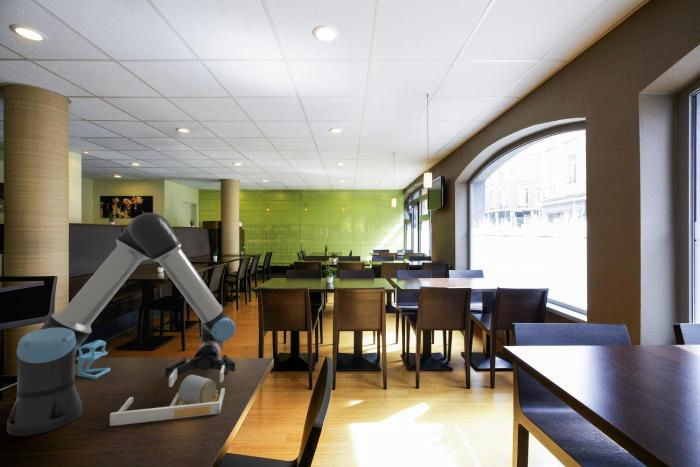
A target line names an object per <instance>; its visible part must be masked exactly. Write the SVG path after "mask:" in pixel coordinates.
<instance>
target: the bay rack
mask: <svg viewBox="0 0 700 467" xmlns="http://www.w3.org/2000/svg"><path fill="white" fill-rule="evenodd" d="M225 392H226V388H225V387H223V388H221V389H220V392H219V393H217V395H215V396H214V398H213V399H212V401H211V402H208V403H198V404H190V403H185V402H182V401H181V400H180V399H179V395H178V393H179V392H176V393H175V396H174V397H173V399H172V402H171V403H170V405H169V406H161V407H160V406H159V407H154V408H143V409H142V408H141V409H134V410H128V409H129V407H131V405H132V403H133V402H134V396H129V398H128V399H127V400H126V401H125V402H124V404H122V406H121V407H120V408H119V410H118V411H115V412H110V414H109V426H110V427H113V426H114V427H115V426H124V425H132V424H140V423H149V422H157V421H158V422H159V421H166V420H175V419H185V418H194V417H201V416H210V415H211V416H212V415H219V414H221V410H222V405H223V401H224V398H225Z"/></svg>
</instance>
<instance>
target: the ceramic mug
mask: <svg viewBox="0 0 700 467" xmlns="http://www.w3.org/2000/svg"><path fill="white" fill-rule="evenodd" d="M218 392H219V390H218V388H217V384H216V382H215V381H214V380H212V379H211V378H208V377H207V378H206V377H203V376H200V375H196V374H189V375H187V376H186V377H185V378H183V380H182V382H181V383H180V385H179V389H178V392H177V393H178V395H179V401H180V400H181V401H182V402H185V403H190V404H198V403H208V402H211V401H212V399H213V398H214V396H215V395H217V393H218Z"/></svg>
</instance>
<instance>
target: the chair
mask: <svg viewBox="0 0 700 467" xmlns="http://www.w3.org/2000/svg"><path fill="white" fill-rule="evenodd" d="M106 345H107V342H106V341H104V340H102V339H96V340H94V341H92V342H89V343H85V344H84V345H81V346H80V347H79V348H78V349H77V351H78V352H79V354H78V356H75V361H77V362H78V368H77V369H78V370H77V377H82V378H86V379H87V378H88V379H93V380H95V379H98V378H99V377H101V376H103V375H105V374H107V373H109V372H111V367H105V368H93V369H90V368H91V366H92V363H93V362H94V361H95V360H98V359H99V358H101V357H103V356H104V357H105V356H106V355H108V352H109V351H106V350H105V348H106ZM99 347H100V348H101V347H102V348H101V351H96V349H98V348H99ZM83 349H89V352H86V353H84V354H83V351H82V350H83ZM87 361H88V362H87ZM85 362H87V364H86V366H85V368H84V364H85ZM91 373H97V374H95V375H94V374H91Z"/></svg>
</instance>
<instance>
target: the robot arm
mask: <svg viewBox="0 0 700 467" xmlns="http://www.w3.org/2000/svg"><path fill="white" fill-rule="evenodd" d="M115 242H116V247H115V248H114V250H112V251H111V253H110V254H109V255H108V257H106V259H105V260H104V261H103V262H102V263H101V265H100V266H99V267H98V268H97V270H96V271H95V272H94V273H93V275H92V276H90V277H89V279H88V280H87V281H86V282H85V284H84V285H83V286H82V288H80V290H79V291H78V292H77V293H76V294H75V296H73V298H72V299H71V301H70V302H69V303H68V304H67V305H66V306H65V308H64V309H63V310H62V311H59V312H54V313H52V314H51V315H50V317H49V318H48V319H46V321H45V322H44V324H42V325H41V327H40V328H39V329H38V330H34V331H33V332H29V333H27V334H25V335H23V336H22V337H21V338H20V339H19V341H18V344H17V349H16V355H17V365H16V366H17V373H16V375H17V376H16V378H17V379H16V381H17V382H16V400H15V402H14V405H13V407H12V409H11V412H10V414H9V417H8V419H7V422H6V433H7V434H8V435H11V436H14V437H27V436H34V435H39V434H45V433H47V432H51V431H54V430H57V429H60V428H62V427H64V426H66V425H68V424H70V423H72V422H74V421H76V420H77V419H78V418H79V417H80V416H82V413H83V403H82V402H83V401H82V400H81V397H80V395H79V392H78V390H77V388H76V386H75V384H76V382H75V381H76V380H75V377H76V375H75V374H76V370H75V368H76V367H75V366H76V354H77V351H78V348H79V347H81V346H82V344H83V343H84V342H85V341H86V339H87V338H88V337H89V335H90V334H92V328H91V327H92V326H91V325H92V324H93V322H94V321H95V320H96V318H98V316H99V315H100V313H102V312H103V310H104V308H105V307H106V306H107V305H108V304H109V302H110V301H111V300H112V298H113V297H114V296H115V295H116V293H118V291H119V290H120V288H122V286H123V285H124V283H126V281H127V280H128V279H129V277H131V275H132V273H134V271H135V270H136V269H137V267H138V266H139V265H140V264H141V262H143V261H147V260H150V259H151V260H152V261H153V262H158V263H159V265H160V266H161V267H162V269H163V270H164V271H165V274H166V275H167V276H168V277H169V279H170V280H171V281H172V283H173V285H175V287H176V288H177V290H178V291H179V292H180V294H181V295H182V296H183V297H184V299H185V300H186V301H187V303H188V304H189V306H190V308H192V310H193V311H194V312H195V313H194V314H196V316H198V319H199V320H200V346H199V348H198V349H197V351H196V353H195V355H194V357H193V358H192V359H188V358H187V357H183V358H182V359H181V360H179V361H177V362H175V363H174V364H171V365H169V366H167V367H166V368H165V369H164V377H165V378H167V380H168V387H169V388H172V387H173V386H174V384H175V382H176V381H177V379H178V376H180V375H183V374H185V373H188V372H191V371H192V372H194V371H196V370H197V371H198V370H203V371H205V370H217V371H219V383H223V382H224V378H225V376H228V375H229V372H236V362H235V361H233V360H232V359H230V358H229V357H228V356H227V354H224V355H222V356H221V357H220V354H221V351H222V349H223V348H224V342H225V341H226V342H227V341H228V340H231V339H232V338H233V336H234V335H235V333H236V324H235V323H234V321H233V320H232V319H231V318H230V317H229V316H228V314H226V311H225V310H224V309H223V305H222V304H220V303H219V302H218V300H217V299H216V297H215V296H214V293H212V291H211V290H210V289H209V287H208V286H207V284H206V283H205V281H204V280H203V279H202V277H201V276H200V273H198V271H197V270H196V269H195V267H194V266H193V264H192V263H191V261H190V260H189V258H188V257H187V255H186V254H185V253H184V251H183V250H182V242H181V241H180V238H178V236H177V234H176V233H175V232H174V229H173V227H172V226H171V224H170V222H169V221H168V220H167V218H165V217H164V216H163V215H162V214H158V213H155V212H145V213H142V214H140V215H137V216H134V218H132V219H131V220H130V221H129V223H128V224H127V226H126V228H124V230H123V231H122V232H121V233H120V234H119V236H117V238H116V239H115Z"/></svg>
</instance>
